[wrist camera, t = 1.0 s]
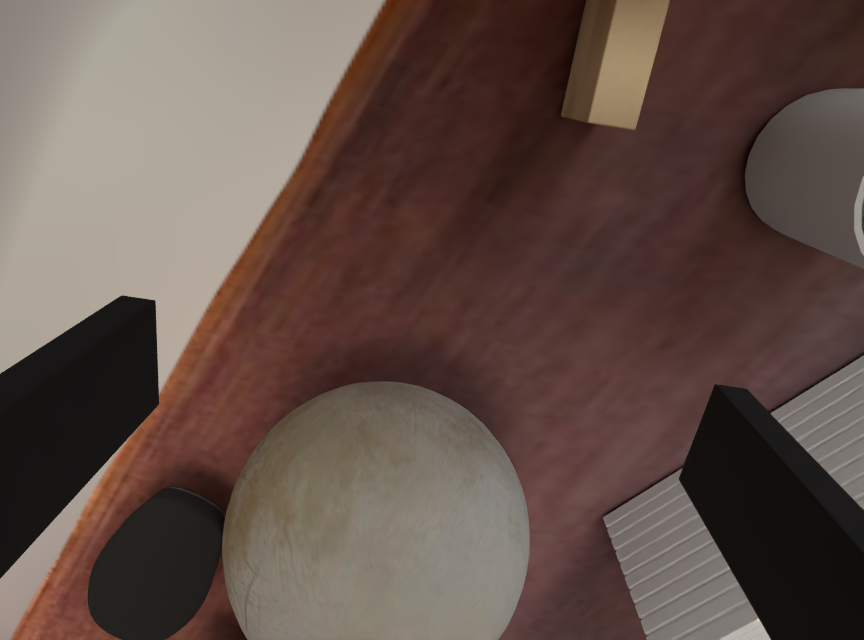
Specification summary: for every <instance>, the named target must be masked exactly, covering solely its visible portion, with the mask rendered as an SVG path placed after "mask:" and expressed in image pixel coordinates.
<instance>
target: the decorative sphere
mask: <svg viewBox="0 0 864 640" xmlns="http://www.w3.org/2000/svg"><path fill="white" fill-rule="evenodd" d="M529 553H530V533H529V520H528V512H527V506H526V502H525V497H524V493H523V490H522V487H521V484H520V481H519V478H518V476H517V473H516V471H515V468H514V466H513V465H512V463H511V461H510V459H509V458H508V456H507V454H506V452H505V451H504V449H503V447H502V446H501V445H500V443H499V442H498V441H497V440H496V438H495V437H494V436H493V435H492V433H491V432H490V431H489V430H488V429H487V427H486V426H485V425H484V424H483V423H482V422H481V421H480V420H479V419H477V418H476V417H475V416H474V415H473V414H472V413H470V412H469V411H468V410H467V409H465V408H464V407H462V406H461V405H459V404H458V403H456V402H454V401H453V400H451V399H449V398H447V397H445V396H443V395H441V394H438V393H436V392H434V391H431V390H429V389H426V388H423V387H420V386H417V385H412V384H406V383H401V382H387V381H379V382H363V383H355V384H350V385H346V386H342V387H339V388H336V389H333V390H330V391H327V392H325V393H323V394H320V395H318V396H316V397H314V398H313V399H311V400H309V401H307V402H305V403H303V404H302V405H300V406H299V407H297V408H296V409H294V410H292V411H291V412H290V413H289V414H287V415H286V416H285V417H284V418H283V419H282V420H280V421H279V422H278V423H277V424H276V425H274V426H273V427H272V429H271V430H270V431H269V432H268V433H267V434H266V436H265V437H264V438H263V439H262V440H261V442H260V443H259V444H258V445H257V446H256V448H255V449H254V450H253V451H252V453H251V455H250V456H249V458H248V460H247V462H246V464H245V465H244V467H243V469H242V471H241V473H240V474H239V476H238V478H237V480H236V483H235V486H234V489H233V492H232V495H231V498H230V502H229V505H228V508H227V511H226V516H225V522H224V530H223V538H222V560H223V570H224V577H225V582H226V587H227V592H228V596H229V600H230V603H231V606H232V609H233V611H234V613H235V616H236V618H237V620H238V623H239V625H240V627H241V629H242V631H243V633H244V635H245V636H246V638H247V640H498V639H499V638H500V636H501V635H502V633H503V632H504V630H505V629H506V627H507V625H508V623H509V621H510V619H511V617H512V615H513V613H514V611H515V609H516V606H517V603H518V601H519V598H520V595H521V592H522V589H523V585H524V581H525V577H526V573H527V567H528V560H529Z"/></svg>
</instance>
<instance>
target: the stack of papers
mask: <svg viewBox="0 0 864 640" xmlns="http://www.w3.org/2000/svg"><path fill="white" fill-rule="evenodd" d="M770 414H771V415H772V416H773V417H774V418H775V419H776V420H777V421H778V422H779V423H780V424H781V425H782V426H783V427H784V428H785V429H786V430H787V431H788V432H789V433H790V434H791V435H792V436H793V437H794V438H795V439H796V440H797V442H798V443H799V444H800V445H801V446H802V447H803V448H804V449H805V450H806V451H807V452H808V453H809V454H810V455H811V456H812V457H813V458H814V459H815V460H816V461H817V462H818V463H819V464H820V465H821V466H822V467H823V468H824V469H825V470H826V471H827V473H828V474H829V475H830V476H831V477H832V478H833V479H834V480H835V481H836V482H837V483H838V484H839V485H840V486H841V487H842V488H843V489H844V490H845V491H846V492H847V493H848V494H849V495H850V496H851V497H852V498H853V499H854V500H855V501H856V502H857V503H858V505H859V506H860V507H861V508H862V509H863V510H864V356H862V357H860V358H859V359H857V360H856V361H854V362H852V363H851V364H849V365H848V366H846V367H844V368H843V369H841V370H840V371H838V372H836V373H835V374H833V375H831V376H830V377H828V378H827V379H825V380H823V381H822V382H820V383H819V384H817V385H815V386H814V387H812V388H811V389H809V390H807V391H806V392H804V393H802V394H801V395H799V396H798V397H796V398H794V399H793V400H791V401H790V402H788V403H786V404H785V405H783V406H782V407H780V408H778V409H777V410H775V411H773V412H772V413H770ZM682 469H683V468H682ZM682 469H680V470H678V471H677V472H675V473H674V474H672V475H670V476H669V477H667V478H666V479H664V480H662V481H661V482H659V483H658V484H656V485H654V486H653V487H651V488H649V489H648V490H646V491H645V492H643V493H641V494H640V495H638V496H637V497H635V498H633V499H632V500H630V501H629V502H627V503H625V504H624V505H622V506H620V507H619V508H617V509H616V510H614V511H612V512H611V513H609V514H608V515H606V516H604V517H603V519H604V522H605V525H606V527H607V528H608V529H607V530H608V533H609V536H610V538H611V539H612V540H611V541H612V544H613V547H614V549H615V550H616V551H617V552H616V555H617V558H618V561H619V562H620V563H621V564H620V566H621V569H622V572H623V574H624V575H625V576H626V577H625V580H626V583H627V586H628V588H629V589H630V590H631V591H630V594H631V597H632V600H633V602H634V603H635V604H636V605H635V608H636V611H637V613H638V616H639V618H640V619H641V620H642V621H640V622H641V624H642V627H643V630H644V633H645V634H646V635H647V636H648V637H646V638H647V640H771V639H770V637H769V635H768V634H767V632H766V630H765V628H764V627H763V625H762V623H761V622H760V620H759V618H758V616H757V615H756V613H755V611H754V609H753V608H752V606H751V604H750V602H749V601H748V599H747V597H746V595H745V594H744V592H743V590H742V589H741V587H740V585H739V583H738V582H737V580H736V578H735V576H734V575H733V573H732V571H731V569H730V568H729V566H728V564H727V562H726V561H725V559H724V557H723V556H722V554H721V552H720V550H719V549H718V547H717V545H716V543H715V542H714V540H713V538H712V536H711V535H710V533H709V531H708V529H707V528H706V526H705V524H704V523H703V521H702V519H701V517H700V516H699V514H698V512H697V510H696V509H695V507H694V505H693V503H692V502H691V500H690V498H689V496H688V495H687V493H686V491H685V490H684V488H683V486H682V484H681V483H680V481H679V476H680V474H681V471H682Z"/></svg>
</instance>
